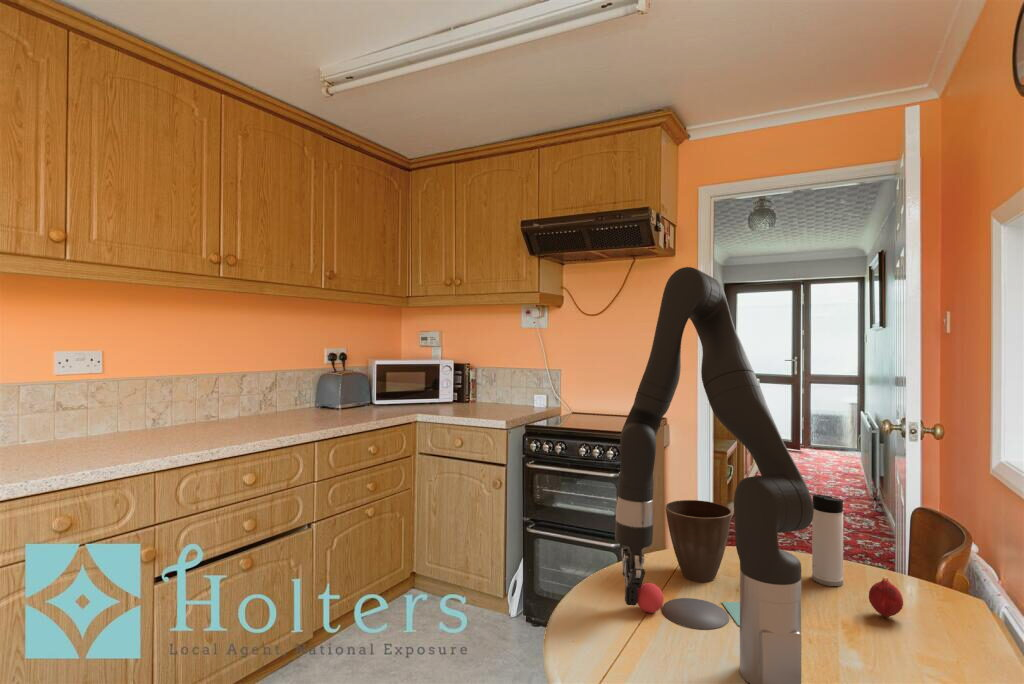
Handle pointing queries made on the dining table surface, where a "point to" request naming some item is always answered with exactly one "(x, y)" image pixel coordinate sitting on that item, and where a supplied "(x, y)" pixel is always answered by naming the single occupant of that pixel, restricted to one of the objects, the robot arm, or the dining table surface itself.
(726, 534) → the plant pot
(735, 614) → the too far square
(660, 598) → the ball
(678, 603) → the disc
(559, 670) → the dining table surface
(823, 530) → the travel mug
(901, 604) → the onion
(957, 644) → the dining table surface
